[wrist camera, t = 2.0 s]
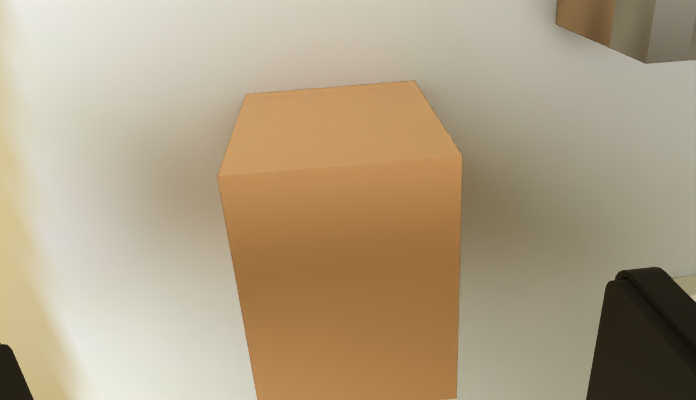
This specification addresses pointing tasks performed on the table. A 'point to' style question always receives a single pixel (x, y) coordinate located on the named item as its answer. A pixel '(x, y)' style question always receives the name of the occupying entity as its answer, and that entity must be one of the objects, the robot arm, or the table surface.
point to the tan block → (346, 242)
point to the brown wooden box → (635, 26)
